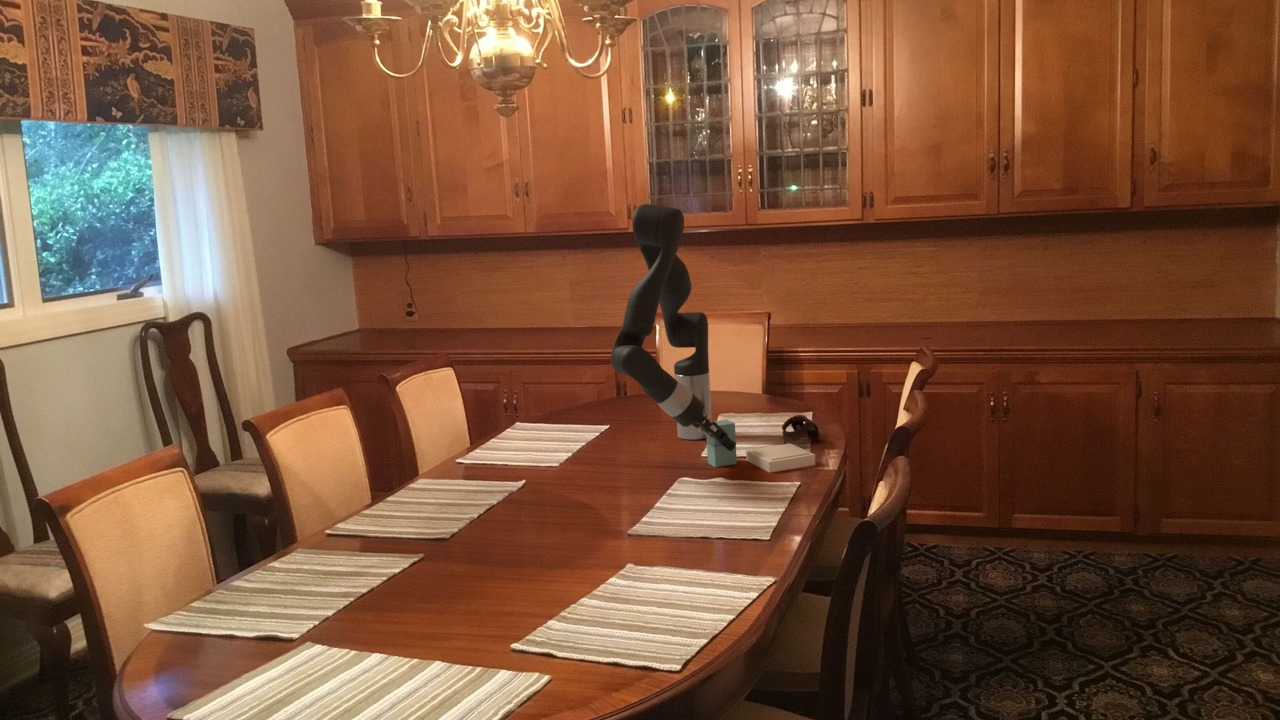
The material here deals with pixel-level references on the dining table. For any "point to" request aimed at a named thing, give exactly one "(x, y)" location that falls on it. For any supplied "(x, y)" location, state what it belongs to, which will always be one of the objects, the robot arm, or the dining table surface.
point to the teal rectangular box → (717, 451)
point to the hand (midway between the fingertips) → (728, 445)
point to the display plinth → (780, 457)
